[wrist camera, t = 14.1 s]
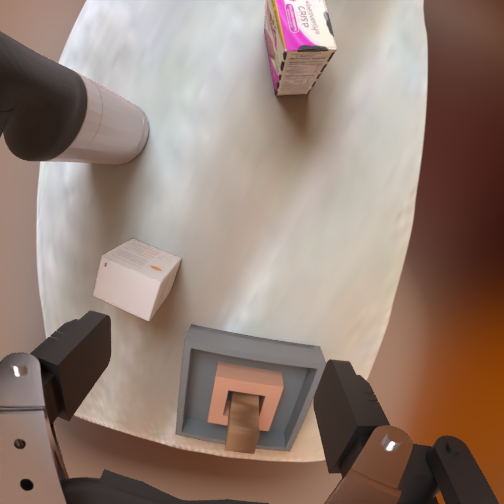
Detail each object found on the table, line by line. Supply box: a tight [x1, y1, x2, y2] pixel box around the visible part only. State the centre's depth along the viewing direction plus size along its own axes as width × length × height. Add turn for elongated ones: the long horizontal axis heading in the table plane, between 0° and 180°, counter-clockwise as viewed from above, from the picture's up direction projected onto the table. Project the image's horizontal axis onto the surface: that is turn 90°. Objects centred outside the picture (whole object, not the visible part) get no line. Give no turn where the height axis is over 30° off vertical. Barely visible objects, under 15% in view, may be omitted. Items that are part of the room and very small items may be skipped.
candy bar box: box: [264, 0, 337, 96], centre depth 28 cm, size 11×5×16 cm, turn 8°
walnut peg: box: [225, 391, 259, 454], centre depth 41 cm, size 4×4×12 cm
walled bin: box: [176, 324, 326, 451], centre depth 45 cm, size 20×20×5 cm
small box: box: [93, 239, 181, 322], centre depth 38 cm, size 8×6×10 cm
